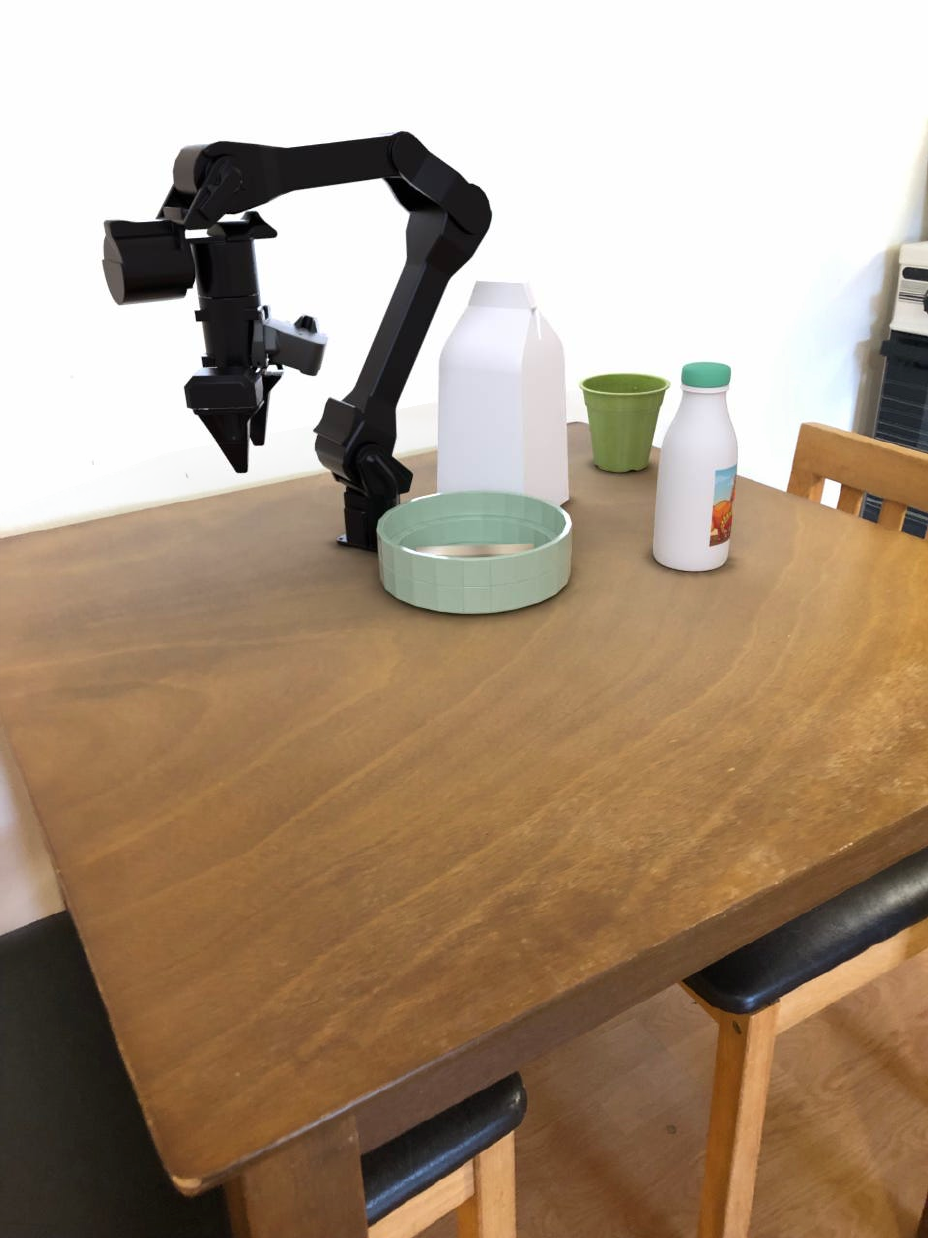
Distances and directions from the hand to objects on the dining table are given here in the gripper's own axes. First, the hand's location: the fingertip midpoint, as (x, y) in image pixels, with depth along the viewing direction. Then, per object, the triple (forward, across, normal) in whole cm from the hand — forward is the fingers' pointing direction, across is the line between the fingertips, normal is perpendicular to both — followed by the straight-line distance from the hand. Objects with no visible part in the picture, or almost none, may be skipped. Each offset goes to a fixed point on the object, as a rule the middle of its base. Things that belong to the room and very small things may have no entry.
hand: (251, 458), depth 93 cm
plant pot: (+12, +32, -43) cm, 55 cm away
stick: (+11, -4, -22) cm, 25 cm away
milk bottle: (+12, -1, -45) cm, 46 cm away
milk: (+12, +17, -26) cm, 34 cm away
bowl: (+12, -4, -22) cm, 25 cm away
